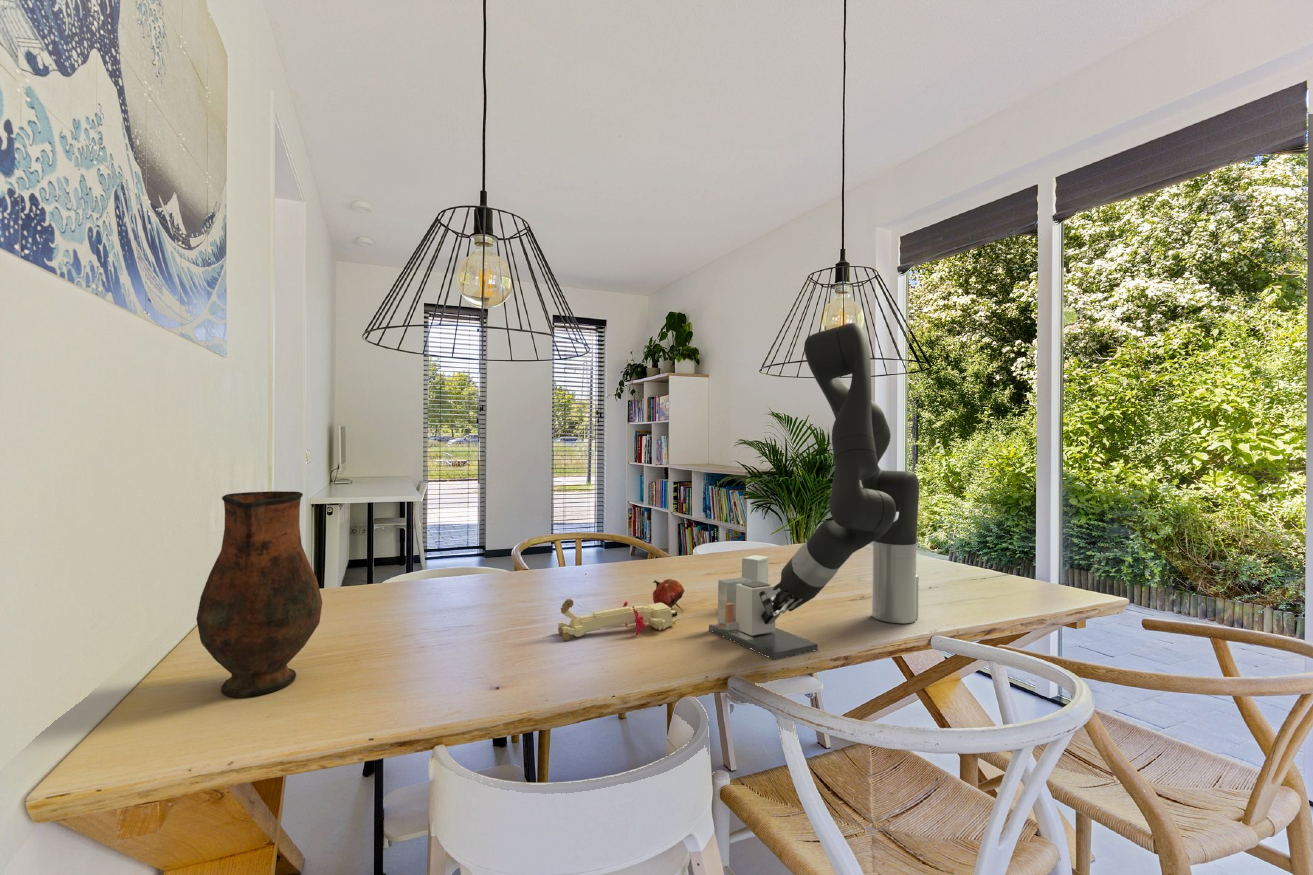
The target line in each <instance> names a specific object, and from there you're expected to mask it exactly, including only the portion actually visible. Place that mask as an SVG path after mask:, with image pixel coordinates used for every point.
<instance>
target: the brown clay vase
mask: <svg viewBox="0 0 1313 875" xmlns="http://www.w3.org/2000/svg"><path fill="white" fill-rule="evenodd" d="M303 495H304V493H303V492H300V491H294V490H293V491H292V490H291V491H284V490H283V491H281V490H280V491H279V490H278V491H277V490H276V491H275V490H273V491H272V490H271V491H248V492H235V493H226V494H225V495H223V496H221V500H222V501H223V505H224V506H223V507H224V530H223V536H222V542H221V548H220V552H219V554H218V556H217V558H216V559H215V561H214V564H213V566H212V569H210V570H211V571H210V572H209V575H208V576H207V579H206V582H205V585H204V588H203V590H202V591H201V595H200V599H199V604H198V610H197V612H196V623H197V629H198V635H199V641H200V643H201V645H202V646H203V647H204V648H205V650H207V652H208V653H209V654H210V656H211V657H212V658H213V659H214V660H215V661H216V663H218V664H220V666H221V667H223V668H224V669H225V670H226V671H227V672H228V673H230V674H231V676H230V677H229V678H228V679H226V680H225V681H224V682H223V683H222V685H221V686H220V692H221V693H222V694H223V695H224V696H226V697H228V698H234V699H235V698H237V699H238V698H249V697H250V698H251V697H257V696H261V695H265V694H271V693H274V692H276V691H277V692H278V691H279V690H281V689H284V688H286V687H288V686H290V685H292V684H293V683H294V681H295V680H296V678H297V672H296V670H294V669H293V668H289V667H288V664H289V663H290V662H291V660H293V659H294V658H295V657H296V655H297V654H298V653H299V652H300V651H301V650H302V649H303V648H304V647H305V646H306V645H307V643H308V642H309V640H310V638H311V636H312V635H313V634H314V633H315V631H316V629H317V628H318V627H319V625H320V622H321V615H322V607H323V599H322V595H321V590H320V585H319V582H318V579H317V576H316V574H315V572H314V570H313V568H312V566H311V563H310V562H309V560H308V557H307V555H306V553H305V552H306V551H305V550H304V548H303V544H302V536H301V535H302V534H301V529H300V528H301V527H300V519H301V518H300V515H301V513H300V510H301V509H300V508H301V501H302V497H303Z"/></svg>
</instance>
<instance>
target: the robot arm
mask: <svg viewBox="0 0 1313 875" xmlns="http://www.w3.org/2000/svg"><path fill="white" fill-rule="evenodd" d="M803 349H804V355H805V359H806V362H807V364H808V367H809V369H810V371H811V373H812V375H813V377H814V379H815V381H816V383H817V384H818V386H819V388H820V389H821V391H822V393H823V395H824V397H825V398H826V400H827V402H828V404H829V407H830V409H831V411H832V413H833V416H834V419H835V420H834V422H833V425H832V430H831V446H832V451H833V452H832V453H833V461H834V471H833V472H834V473H833V477H832V486H831V490H830V496H829V502H828V505H829V512H830V513H829V514H830V515H831V517H832V520H831V519H830V520H828V521H827V520H826V521H824V523H822V524H821V525H819V527H817V529H816V530H815V531H814V533H813V534H812V535H811V537H809V539H807V541H806V542H805V543H803V544H802V545H801V546H800V547H799V548H798V550H797V551H796V552H795V553H794V554H793V556H792V557H791V558H790V559H789V560H788V562H787V563H786V564H785V565H784V566H783V568H782V569H781V572H780V581H779V582H778V583H777V584H776V585H773V586H774V588H773V591H771V592H769V593H768V592H765V591H762V592H760V593H759V595H760V598H761V602H762V604H763V606H764V608H765V611H764V612H763V613H762V615H761V617H762V619H763V621H764V623H765V624H772V623H773V622H774V621H775V622H776V620H777V619H778V618H779V617H780V616H781V615H784V614H786V612H793V611H794V610H796V609H798V608H799V607H801V606H802V605H804V604H806V603H808V602H809V601H811V600H812V599H814V598H815V597H816V596H817V595H818V594H819V593H820V592H821V591H822V590H823V589H824V588H825V587H826V585H827V584H828V583H829V582H831V580H832V579H833V578H834V577H835V576H836V574H837V572H838V571H839V570H840V568H841V567H842V566H843V565H844V564H845V563H846V561H848V559H849V558H850V557H851V556H852V555H853V554H854V553H855V552H857V551H860V550H861V549H863V548H865V547H866V546H868V545H869V544H871V543H872V585H871V586H872V587H871V588H872V589H871V592H872V596H871V597H872V600H871V601H872V602H871V606H872V608H871V609H872V610H871V616H872V617H873V618H874V619H876V620H879V621H881V622H885V623H886V622H887V623H892V624H911V623H914V622H916V620H917V619H919V590H920V589H919V587H920V586H919V584H920V583H919V582H920V581H919V576H918V575H917V535H918V520H919V519H918V516H919V514H918V513H919V503H920V501H919V500H920V481H919V479H918V476H917V474H916V473H914V472H912V471H907V470H902V471H901V470H884V469H881V468H880V467H879V462H880V460H881V458H882V457H883V456H884V454H885V453H886V451H887V449H888V447H889V445H890V442H891V430H890V427H889V424H888V422H887V418H886V416H885V413H884V411H883V409H882V408H881V407H880V405H878V404H877V402H875V401H873V400H872V368H871V367H872V364H871V352H870V346H869V342H868V339H867V337H866V333H865V331H864V329H863V328H862V327H861V325H860V324H859V323H856V322H850V323H845V324H842V325H839V326H836V327H832V328H829V329H824V330H822V331H818V332H815V333H813V334H810V335H809V336H807V337H806V338H805V341H804V347H803ZM849 375H851V381H850V386H849V385H847V384H846V383H845V382H844V381H842V379H841V377H844V376H849ZM860 481H861V482H860ZM897 513H898V515H897V519H896V514H897Z"/></svg>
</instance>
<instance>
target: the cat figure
mask: <svg viewBox="0 0 1313 875" xmlns="http://www.w3.org/2000/svg"><path fill="white" fill-rule="evenodd" d="M628 604H629V603H628V601H625V602H623V605H622V607H616V608H610V609H604V610H599V611H594V612H593V613H590V614H585V615H579V616H577V615H576V614H574V613H573V612H571V610H570V609H571V608H573V606H574V600H573V599H572V598H567V599H566V598H565V600H564V602H563V604H561V607H560V613H561V614H562V615H563V616H565V617H566V618H569V619H570V620H569V621H570V622H568V623H567V622H564V621H558V622H557V623H558V627H557V632H558V635H559V636H560V635H562V636H561V637H562V640H563V641H564V642H568V640H570V636H571V635H572V636H574V637H577V638H578V637H582V636H583V635H587V633H591V632H596V631H601V629H603V628H611V627H614V626H619V625H624V626H625V627H626V628H628V627H629V626H628V625H634V624H635V628H636V629H635V633H634V635H636V636H638V635H639V634H640V633H641V631H642V629H646V624H647V623H648V625H650V626H651V627H653V628H654V629H656V630H659V631H661V630H665V629H666V628H669V627H671V626H675V625H676V624H677V621H679V620H680V618H679V617H677V616H678V612H677V611H676V610H674V609H672V607H671V608H670V607H668V606H667V605H665V604H663V603H650V604H648V605H642V604H641V605H636V606H630V607H629V606H628Z"/></svg>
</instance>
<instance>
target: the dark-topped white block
mask: <svg viewBox="0 0 1313 875" xmlns="http://www.w3.org/2000/svg"><path fill="white" fill-rule="evenodd" d="M774 586H775V585H773V584H770V583H768V584H767V583H763V582H760V581H756V582H748V583H742V584H736V622H730V623H726V630H735V629H737V630H739V631H742V632H744V633H746V634H749V635H751V636H753V635H758V634H764V633H769V632H774V631H775V628H776V620H775V621H774V622H773V623H772V624H765V623H764V621H763V619H762V617H761V615H762V613H763V612H764V611H765V608H764V606H763V604H762V602H761V598H760V595H759V593H760V592H762V591H765V592H768V593H769V592H771V591H773V588H774Z"/></svg>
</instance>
